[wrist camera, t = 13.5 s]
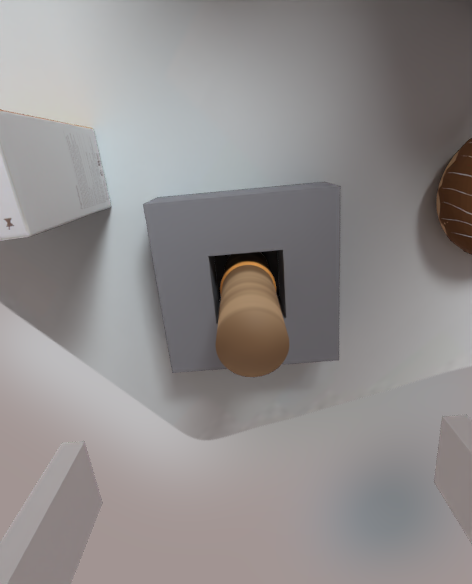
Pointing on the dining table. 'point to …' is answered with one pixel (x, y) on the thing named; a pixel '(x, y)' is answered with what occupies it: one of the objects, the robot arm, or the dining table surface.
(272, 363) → the oak peg
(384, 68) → the dining table surface
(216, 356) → the socket block
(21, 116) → the small box
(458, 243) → the donut
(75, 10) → the dining table surface
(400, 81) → the dining table surface
